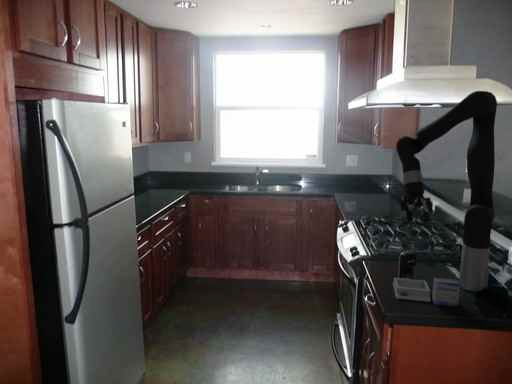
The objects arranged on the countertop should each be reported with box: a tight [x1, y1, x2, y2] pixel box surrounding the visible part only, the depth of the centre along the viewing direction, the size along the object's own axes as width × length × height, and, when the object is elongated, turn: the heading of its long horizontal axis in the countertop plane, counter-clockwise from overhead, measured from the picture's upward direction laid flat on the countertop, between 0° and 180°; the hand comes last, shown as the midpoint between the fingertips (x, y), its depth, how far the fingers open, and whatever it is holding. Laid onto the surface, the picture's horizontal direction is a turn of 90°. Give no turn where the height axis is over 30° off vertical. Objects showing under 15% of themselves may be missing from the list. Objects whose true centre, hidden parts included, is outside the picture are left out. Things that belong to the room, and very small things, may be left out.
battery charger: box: [396, 251, 418, 280], centre depth 167 cm, size 7×4×11 cm, turn 111°
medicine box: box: [431, 277, 461, 307], centre depth 147 cm, size 8×4×9 cm, turn 80°
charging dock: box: [392, 277, 432, 302], centre depth 156 cm, size 12×13×4 cm
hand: (418, 222), depth 165 cm, fingers open, 8 cm apart
